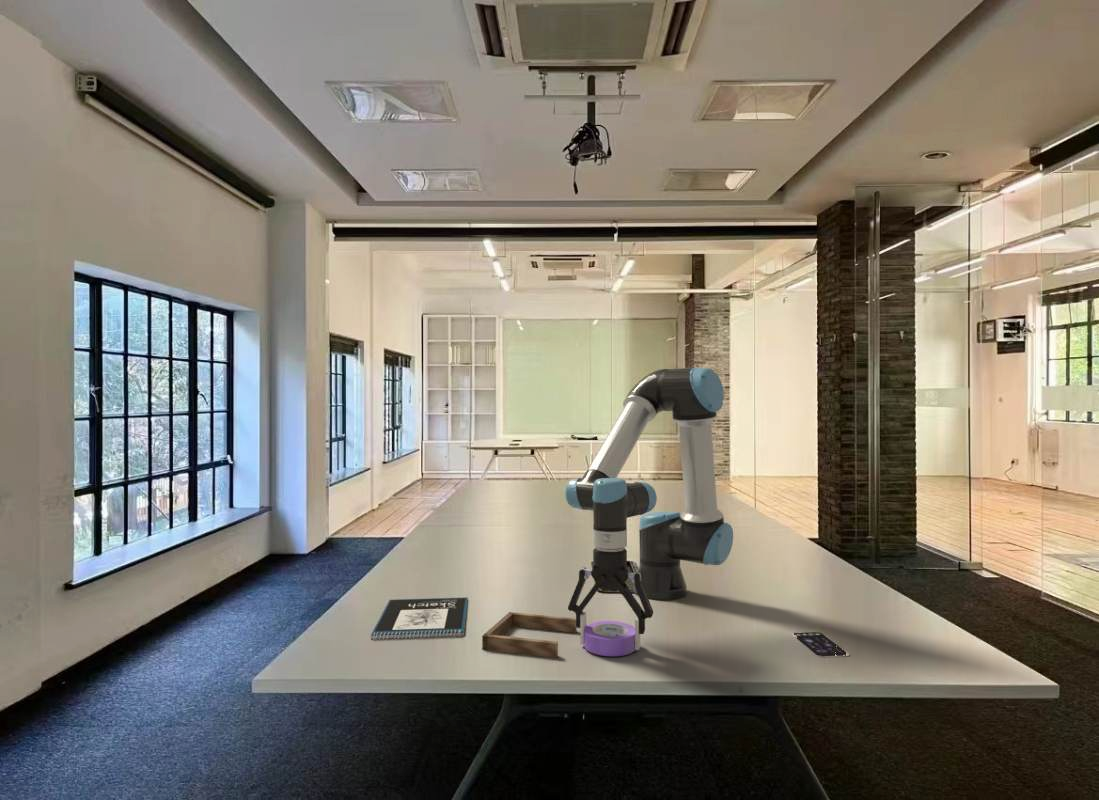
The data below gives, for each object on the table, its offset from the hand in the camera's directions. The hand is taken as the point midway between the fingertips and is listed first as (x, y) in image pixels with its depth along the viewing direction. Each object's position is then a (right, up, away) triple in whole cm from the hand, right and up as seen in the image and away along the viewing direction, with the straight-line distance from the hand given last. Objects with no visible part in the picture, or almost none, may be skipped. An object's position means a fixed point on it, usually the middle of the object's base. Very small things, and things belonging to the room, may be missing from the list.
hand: (610, 645), depth 148 cm
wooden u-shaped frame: (-17, -1, +5) cm, 18 cm away
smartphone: (+48, -1, +2) cm, 48 cm away
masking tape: (0, -1, 0) cm, 1 cm away
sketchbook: (-46, -2, +21) cm, 50 cm away
